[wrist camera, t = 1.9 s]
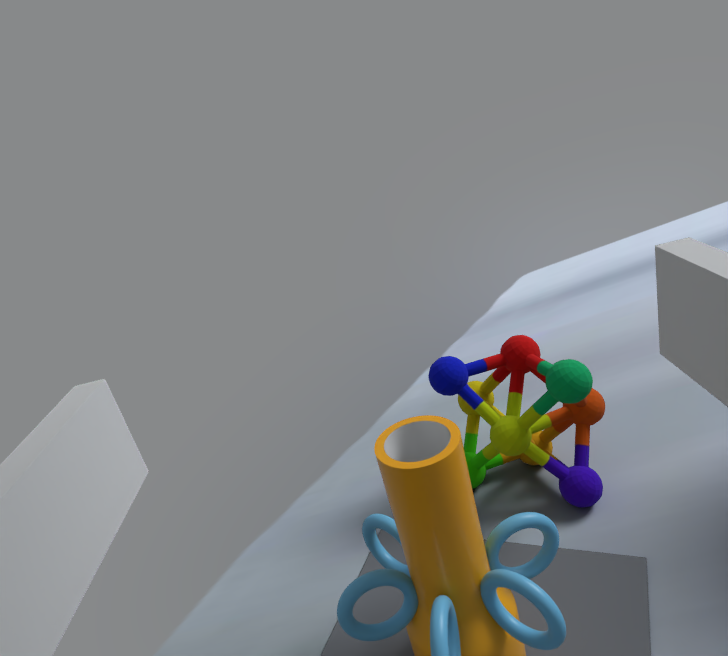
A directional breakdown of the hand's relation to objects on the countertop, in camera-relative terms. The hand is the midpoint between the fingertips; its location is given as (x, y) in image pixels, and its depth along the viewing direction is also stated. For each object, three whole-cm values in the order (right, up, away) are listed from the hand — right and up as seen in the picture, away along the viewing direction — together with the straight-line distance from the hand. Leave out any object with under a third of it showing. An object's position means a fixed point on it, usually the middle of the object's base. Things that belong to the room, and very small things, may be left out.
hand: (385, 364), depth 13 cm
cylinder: (+6, -18, +18) cm, 26 cm away
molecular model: (+13, -11, +31) cm, 35 cm away
